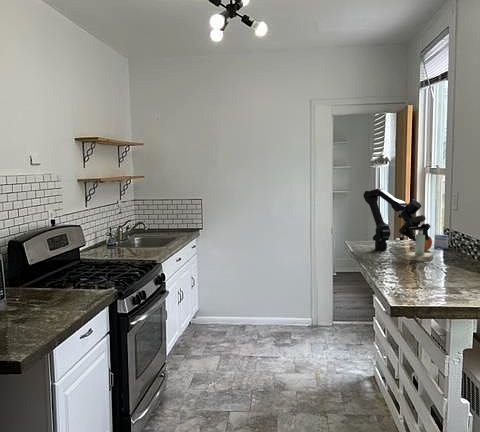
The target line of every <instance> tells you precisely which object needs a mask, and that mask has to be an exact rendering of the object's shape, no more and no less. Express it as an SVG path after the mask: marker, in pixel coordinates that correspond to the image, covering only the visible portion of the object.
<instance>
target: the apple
mask: <svg viewBox="0 0 480 432" xmlns="http://www.w3.org/2000/svg"><path fill="white" fill-rule="evenodd" d="M428 237H429V240H428V241H427V240H426V239H425V247H424V252H428V251H429V250H430V249H431V248H432V244H433V240H432V236H429V235H428Z"/></svg>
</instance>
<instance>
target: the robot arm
mask: <svg viewBox="0 0 480 432" xmlns="http://www.w3.org/2000/svg"><path fill="white" fill-rule="evenodd" d="M362 196H363V199H364V200H365V202H366V203H367V204H368V205H369V207H370V212H371V214H372V216H373V220H374V223H375V233H374V235H373V236H372V240H373V241H374V249H373V251H382V252H386V251H388V242H387V241H389V239H390V236H392V235H391V229H390V226H389V224H388V225H387V224H385V222H384V218H383V216H382V213H381V210H380V207H379V205H378V200H379V198H381V199H383V200H384V201H385V202H387V203H388V204H389V205H390V206H391V208H392V210H393V211H394V212H397V213H398V216H397V218H399V219H402V220H403V222H404V223H403V225H401V227H400V228H399V229H398V232H399V235H402V236H405V237H406V238H408V239H410V240H411V241H413V242H415V241H416V239H415V237H416V236H415V235H414V234H413V232H414V231H423V235H425V239H426V240H427V241H428V240H429V237H430V236H429V233H428V231H429V229H430V228H431V227H432V226H431V225H430V223H423V222H425V220H426V219H427V218H426V216H425V215H424V214H421V215H416V216H414V215H415V214H416V213H417V212H418V211H419V210H420V209H421V208H422V204H421V203H420V202H419V201H417V200H416V199H411V200H410V201H409V202H408V203H407V202H405V201H404V200H402V199H398V198H396V197H394V196H393V195H392V194H390V193H389V192H388V191H387V190H385V189H384V187H383V188H382V187H381V188H375V189H371V190H366V191H364V192H363V195H362ZM399 212H400V213H399ZM428 236H429V237H428Z"/></svg>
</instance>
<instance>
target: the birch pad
mask: <svg viewBox="0 0 480 432" xmlns="http://www.w3.org/2000/svg"><path fill="white" fill-rule="evenodd" d="M404 257H405V258H404V259H405V260H409V261H417V262H418V261H420V262H429V261H430V262H431V261H433V259H434V253H431V252H424V255H416V254H415V251H408V252H407V253H406V254H405V256H404Z"/></svg>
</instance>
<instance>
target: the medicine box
mask: <svg viewBox="0 0 480 432" xmlns="http://www.w3.org/2000/svg"><path fill="white" fill-rule="evenodd" d="M448 247H449V234H448V235H447V234H434V243H433V248H434V249H437V248H442V249H441V250H448Z"/></svg>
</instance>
